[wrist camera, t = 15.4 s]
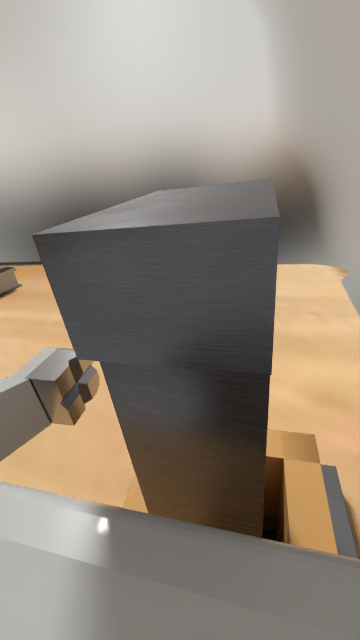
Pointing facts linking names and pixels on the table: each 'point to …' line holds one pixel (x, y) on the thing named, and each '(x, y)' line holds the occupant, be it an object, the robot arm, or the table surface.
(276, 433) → the frame on grey plate
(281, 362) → the table surface
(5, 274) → the book
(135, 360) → the tall dark grey post
